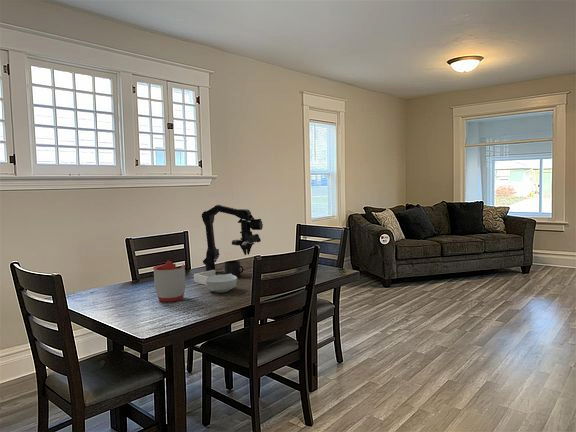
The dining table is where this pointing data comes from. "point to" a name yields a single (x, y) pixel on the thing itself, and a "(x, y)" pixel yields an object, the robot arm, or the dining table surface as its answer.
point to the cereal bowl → (221, 282)
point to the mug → (233, 268)
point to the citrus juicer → (169, 282)
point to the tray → (204, 276)
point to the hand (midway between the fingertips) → (246, 254)
